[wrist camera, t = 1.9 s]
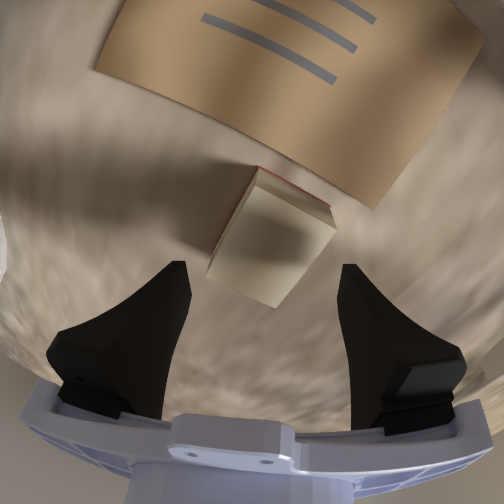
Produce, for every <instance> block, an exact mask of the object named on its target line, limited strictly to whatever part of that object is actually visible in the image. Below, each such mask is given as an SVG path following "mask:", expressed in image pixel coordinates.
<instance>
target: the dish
mask: <svg viewBox="0 0 504 504" xmlns="http://www.w3.org/2000/svg"><path fill="white" fill-rule="evenodd" d="M5 271H6V237H5V233H4V228H3V223H2V218H1V212H0V282H1V280H2V278H3V276H4V274H5Z"/></svg>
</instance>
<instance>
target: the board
mask: <svg viewBox="0 0 504 504" xmlns="http://www.w3.org/2000/svg"><path fill="white" fill-rule="evenodd" d="M485 40H486V38H485V37H484V35H483V34H482V33H481V32H480V31H479V30H478V29H477V28H476V27H475V26H474V25H473V24H472V23H471V22H470V21H469V20H468V19H467V18H466V17H465V16H464V15H463V14H462V13H461V12H460V11H459V10H458V9H457V8H456V7H455V6H454V5H453V4H452V3H451V2H450V1H448V0H126V2H125V4H124V6H123V7H122V9H121V11H120V13H119V15H118V17H117V19H116V21H115V23H114V25H113V28H112V30H111V32H110V34H109V36H108V38H107V41H106V43H105V45H104V48H103V50H102V52H101V55H100V57H99V60H98V62H97V65H96V68H95V70H97V71H100V72H103V73H106V74H109V75H112V76H115V77H117V78H120V79H123V80H125V81H128V82H131V83H133V84H136V85H139V86H141V87H144V88H146V89H149V90H151V91H154V92H156V93H159V94H161V95H163V96H166V97H168V98H171V99H173V100H175V101H177V102H180V103H182V104H184V105H187V106H189V107H191V108H193V109H195V110H198V111H200V112H202V113H204V114H206V115H208V116H210V117H212V118H215V119H217V120H219V121H221V122H223V123H225V124H227V125H229V126H231V127H233V128H235V129H237V130H239V131H241V132H243V133H245V134H246V135H248V136H250V137H252V138H254V139H256V140H258V141H260V142H262V143H263V144H265V145H267V146H269V147H271V148H273V149H274V150H276V151H278V152H280V153H282V154H283V155H285V156H287V157H289V158H290V159H292V160H294V161H296V162H297V163H299V164H301V165H302V166H304V167H306V168H307V169H309V170H311V171H312V172H314V173H316V174H317V175H319V176H321V177H322V178H324V179H325V180H327V181H329V182H330V183H332V184H333V185H335V186H337V187H338V188H340V189H341V190H343V191H344V192H346V193H348V194H349V195H351V196H352V197H354V198H355V199H357V200H358V201H360V202H361V203H363V204H364V205H366V206H367V207H369V208H370V209H371V210H374V209H375V208H376V206H377V205H378V204H379V202H380V201H381V200H382V198H383V197H384V196H385V194H386V193H387V192H388V190H389V189H390V188H391V186H392V185H393V184H394V182H395V181H396V180H397V178H398V177H399V175H400V174H401V173H402V171H403V170H404V168H405V167H406V166H407V164H408V163H409V161H410V160H411V159H412V157H413V156H414V154H415V153H416V152H417V150H418V149H419V147H420V146H421V144H422V143H423V141H424V140H425V138H426V137H427V136H428V134H429V133H430V131H431V130H432V128H433V127H434V125H435V124H436V122H437V120H438V119H439V117H440V116H441V114H442V113H443V111H444V110H445V108H446V107H447V105H448V103H449V102H450V100H451V99H452V97H453V95H454V94H455V92H456V91H457V89H458V87H459V86H460V84H461V82H462V81H463V79H464V77H465V76H466V74H467V72H468V71H469V69H470V67H471V65H472V64H473V62H474V60H475V58H476V57H477V55H478V53H479V51H480V49H481V48H482V46H483V44H484V42H485Z"/></svg>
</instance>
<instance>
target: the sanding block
mask: <svg viewBox="0 0 504 504" xmlns="http://www.w3.org/2000/svg"><path fill="white" fill-rule="evenodd" d="M336 231H337V228H336V225H335V222H334V219H333V216H332V213H331V210H330V205H329V204H327V203H325V202H324V201H322V200H320V199H319V198H317V197H315V196H313V195H312V194H310V193H308V192H306V191H304V190H303V189H301V188H299V187H297V186H296V185H294V184H292V183H290V182H288V181H286V180H285V179H283V178H281V177H279V176H277V175H275V174H273V173H272V172H270V171H268V170H266V169H264V168H262V167H260V166H259V167H258V168H257V170H256V172H255V174H254V176H253V177H252V179H251V181H250V183H249V184H248V186H247V188H246V190H245V192H244V193H243V195H242V197H241V199H240V201H239V203H238V204H237V206H236V208H235V210H234V212H233V214H232V215H231V217H230V219H229V221H228V223H227V225H226V226H225V228H224V230H223V232H222V234H221V236H220V238H219V240H218V241H217V243H216V245H215V247H214V249H213V251H214V252H213V255H212V257H211V260H210V263H209V266H208V269H207V272H206V275H205V277H206V278H208V279H210V280H213V281H215V282H217V283H219V284H221V285H224V286H226V287H228V288H230V289H232V290H235V291H237V292H239V293H241V294H244V295H246V296H248V297H250V298H253V299H255V300H257V301H259V302H262V303H264V304H266V305H269V306H271V307H273V308H277V306H278V305H279V304H280V303H281V302H282V300H283V299H284V298H285V297H286V295H287V294H288V293H289V292H290V290H291V289H292V288H293V287H294V285H295V284H296V283H297V282H298V280H299V279H300V278H301V277H302V275H303V274H304V273H305V272H306V270H307V269H308V268H309V266H310V265H311V264H312V263H313V261H314V260H315V259H316V257H317V256H318V255H319V254H320V252H321V251H322V250H323V248H324V247H325V246H326V244H327V243H328V242H329V240H330V239H331V238H332V236H333V235H334V234H335V232H336Z"/></svg>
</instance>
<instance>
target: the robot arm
mask: <svg viewBox="0 0 504 504" xmlns="http://www.w3.org/2000/svg"><path fill="white" fill-rule="evenodd" d="M191 297H192V293H191V288H190V283H189V278H188V273H187V268H186V262H185V261H172V262H171V263H169V264H168V265H167V266H166V267H165V268H164V269H163V270H161V271H160V272H159V273H158V274H157V275H156V276H155V277H153V278H152V279H151V280H150V281H149V282H148V283H146V284H145V285H144V286H143V287H141V288H140V289H139V290H138V291H136V292H135V293H134V294H133V295H131V296H130V297H129V298H127V299H126V300H124V301H123V302H121V303H120V304H118V305H117V306H115V307H114V308H112V309H110V310H108V311H106V312H105V313H103V314H101V315H99V316H97V317H95V318H93V319H91V320H89V321H87V322H84V323H82V324H80V325H77V326H74V327H71V328H68V329H66V330H63V331H59V332H58V334H57V335H56V337H55V338H54V340H53V342H52V343H51V345H50V346H49V348H48V350H47V351H46V356H47V359H48V362H49V363H50V365H51V366H52V368H53V369H54V370H55V372H56V373H57V374H58V375H59V377H60V378H61V379H62V380H63V382H64V383H63V385H62V387H60V386H59V385H57V384H55V383H53V382H50V381H48V380H45V379H42V378H38V380H37V382H36V384H35V386H34V388H33V390H32V391H31V394H30V395H29V397H28V399H27V401H26V404H25V405H24V407H23V409H22V411H21V413H20V415H19V417H18V418H19V420H20V421H21V422H22V423H23V424H25V425H26V426H27V427H28V428H29V429H30V430H32V431H33V432H34V433H35V434H37V435H38V436H39V437H40V438H42V439H43V440H44V441H45V442H47V443H48V444H50V445H52V446H54V447H57V448H58V449H60V450H63V451H65V452H67V453H69V454H71V455H73V456H75V457H77V458H79V459H81V460H84V461H86V462H88V463H90V464H93V465H95V466H97V467H100V468H102V469H105V470H107V471H110V472H112V473H115V474H118V475H120V476H123V477H126V478H128V479H130V482H129V486H128V490H127V493H126V497H125V501H124V504H354V499H356V498H362V497H366V496H372V495H377V494H381V493H386V492H390V491H394V490H398V489H401V488H405V487H409V486H412V485H416V484H419V483H422V482H426V481H428V480H432V479H435V478H438V477H441V476H444V475H447V474H450V473H453V472H456V471H458V470H461V469H463V468H465V467H466V466H468V465H469V464H471V463H472V462H474V461H476V460H477V459H479V458H480V457H481V456H483V455H484V454H486V453H487V452H489V451H490V450H491V449H493V447H494V445H493V442H492V437H491V434H490V430H489V427H488V424H487V420H486V417H485V414H484V411H483V408H482V405H481V402H480V399H476V400H473V401H469V402H465V403H462V404H459V405H457V406H455V407H454V408H453V406H452V403H451V401H453V400H454V395H453V392H452V391H453V390H454V388H455V387H456V386H457V385H458V383H459V382H460V381H461V380H462V378H463V377H464V375H465V373H466V370H467V364H466V362H465V359H464V357H463V355H462V352H461V350H460V348H459V347H457V346H455V345H453V344H451V343H449V342H447V341H445V340H443V339H441V338H439V337H437V336H435V335H434V334H432V333H430V332H428V331H427V330H425V329H424V328H422V327H421V326H419V325H418V324H416V323H415V322H414V321H412V320H411V319H410V318H408V317H407V316H406V315H405V314H403V313H402V312H401V311H400V310H399V309H397V308H396V307H395V306H394V305H393V304H392V303H391V302H390V301H389V300H388V299H387V298H386V297H385V296H384V295H383V294H382V293H381V292H380V291H379V290H378V289H377V288H376V287H375V286H374V284H373V283H372V282H371V281H370V280H369V279H368V278H367V276H366V275H365V274H364V273H363V272H362V271H361V269H360V268H359V267H358V266H357V265H356V264H343V267H342V273H341V279H340V284H339V290H338V295H337V305H338V314H339V320H340V325H341V329H342V334H343V338H344V343H345V347H346V352H347V357H348V363H349V374H350V389H351V431H339V432H320V433H295V432H294V430H293V428H292V427H291V426H289V425H287V424H284V423H282V422H279V421H271V420H260V419H243V418H230V417H220V416H210V415H202V414H185V413H184V414H181V415H179V416H176V417H174V418H173V422H167V421H162V420H161V418H162V409H163V402H164V395H165V389H166V383H167V378H168V373H169V368H170V364H171V360H172V356H173V353H174V349H175V347H176V344H177V341H178V338H179V336H180V333H181V330H182V328H183V325H184V322H185V320H186V317H187V314H188V310H189V306H190V301H191Z"/></svg>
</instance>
